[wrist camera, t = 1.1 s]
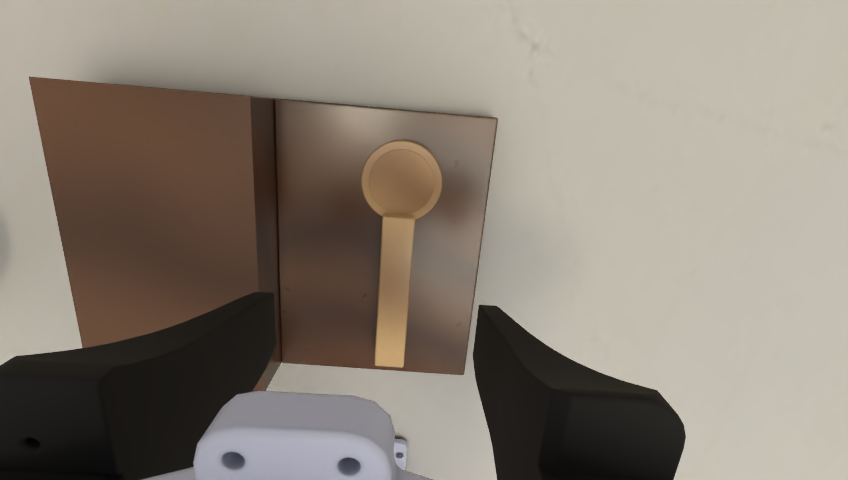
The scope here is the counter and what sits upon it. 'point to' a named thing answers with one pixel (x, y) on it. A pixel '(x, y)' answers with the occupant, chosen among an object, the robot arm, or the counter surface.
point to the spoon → (398, 232)
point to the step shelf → (257, 217)
